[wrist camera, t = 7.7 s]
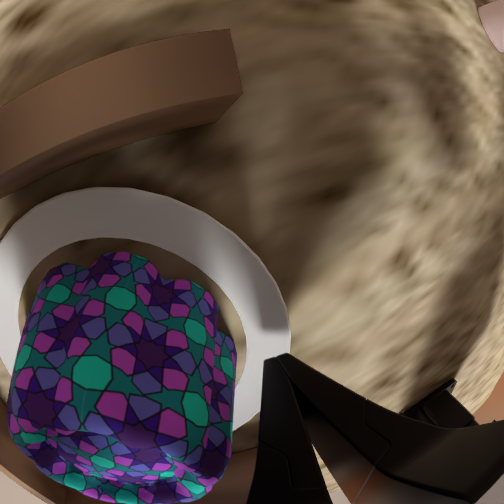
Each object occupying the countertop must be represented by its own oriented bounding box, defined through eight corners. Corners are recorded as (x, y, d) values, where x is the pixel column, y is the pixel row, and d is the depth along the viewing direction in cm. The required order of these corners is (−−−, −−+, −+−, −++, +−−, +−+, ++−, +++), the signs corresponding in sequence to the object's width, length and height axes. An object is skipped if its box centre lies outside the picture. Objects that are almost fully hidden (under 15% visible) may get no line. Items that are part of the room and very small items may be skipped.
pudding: (-6, 375, 8) (-40, 450, 3) (42, 121, 6) (-77, 104, 1) (200, 456, 12) (217, 533, 7) (341, 287, 10) (435, 370, 5)
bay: (285, 447, 13) (305, 494, 10) (67, 473, 10) (63, 512, 7) (207, 82, 6) (229, 29, 3) (-91, 235, 4) (-133, 261, 1)
